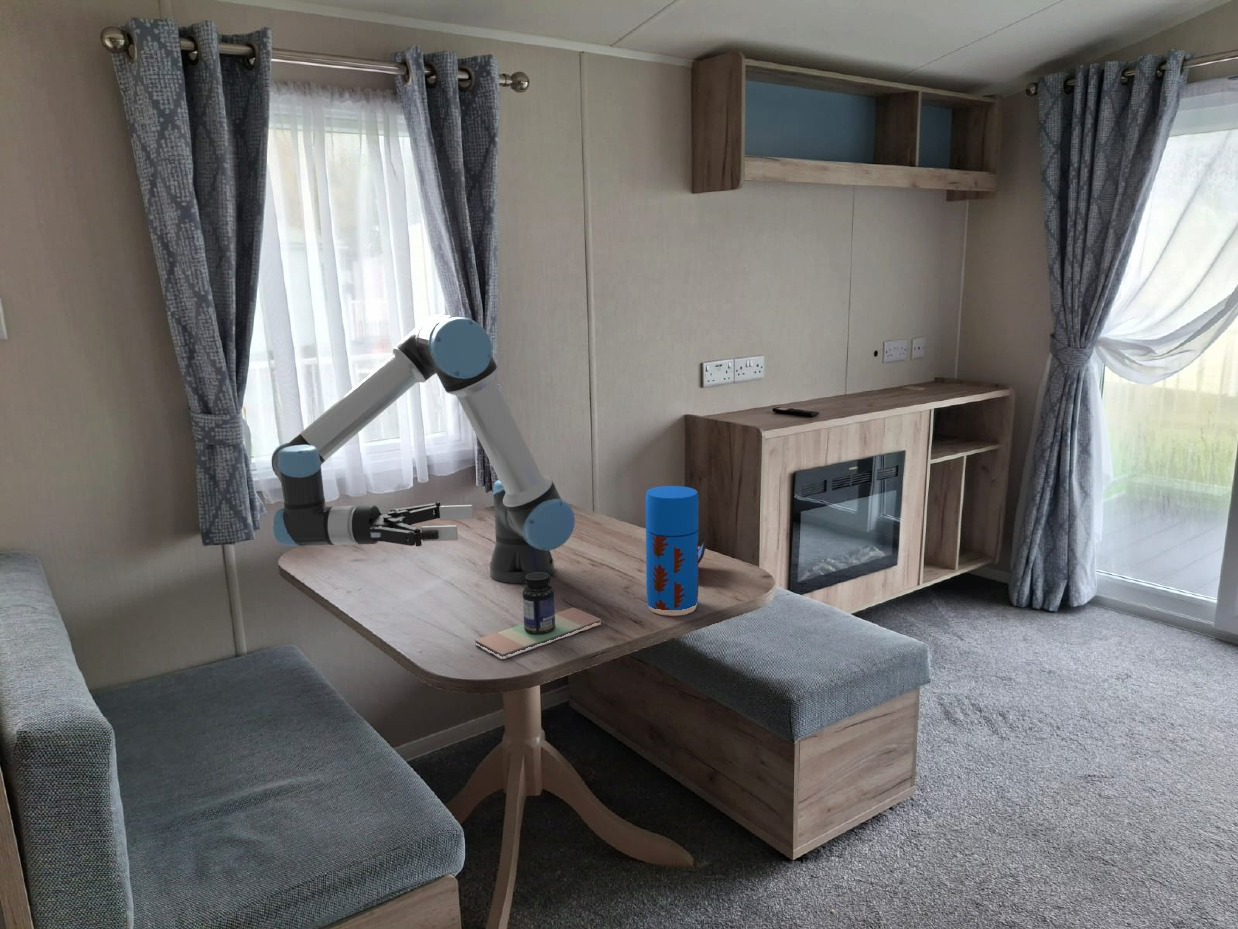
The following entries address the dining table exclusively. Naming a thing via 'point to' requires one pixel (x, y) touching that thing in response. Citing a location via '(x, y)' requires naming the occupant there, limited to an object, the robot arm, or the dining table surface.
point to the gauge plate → (521, 639)
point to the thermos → (672, 547)
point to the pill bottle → (538, 604)
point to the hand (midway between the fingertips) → (465, 521)
